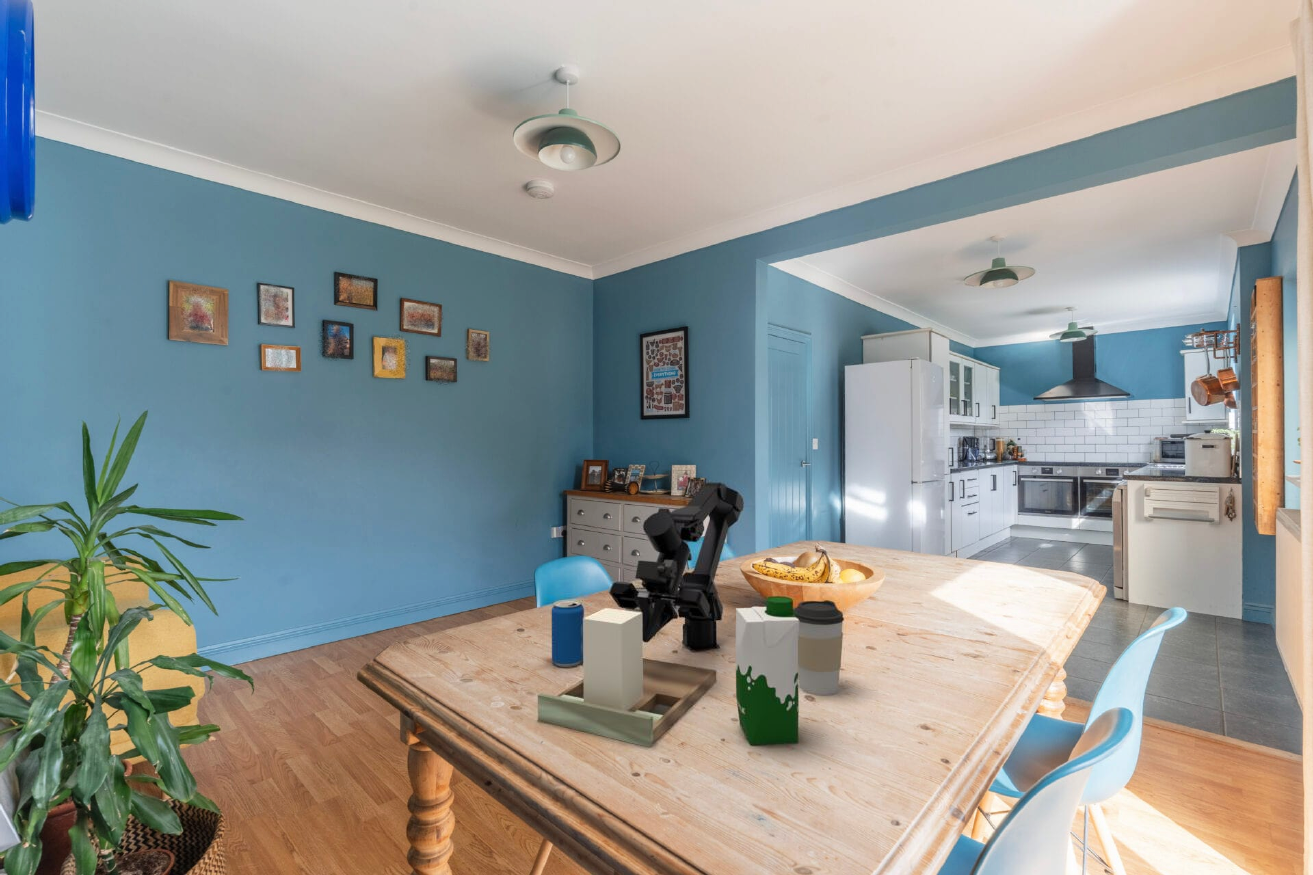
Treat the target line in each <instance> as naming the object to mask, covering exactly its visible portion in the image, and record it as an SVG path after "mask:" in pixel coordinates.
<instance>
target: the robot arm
mask: <svg viewBox="0 0 1313 875" xmlns="http://www.w3.org/2000/svg"><path fill="white" fill-rule="evenodd" d="M743 510H744V498H743V496H742V495H741V494H740V493H739V492H738V491H737V490H735V489H732V488H731V487H728V486H727V485H726V484H725V483H722V482H717V481H715V482H714V481H713V482H712V481H705V482H703V483H702V485H701V487H700V490H698V491H697V493H696V494H695V495H694V496H693V497H692V498H691V499H690V501H689V502H688V503H687V504H686V505H685V506H683V507H680V508H676V509H674V510H672V511H670V509H669V508H663V507H662V508H660V507H659V508H658V511H657V512H656V513H652V514H651V515H650V516H647V519H645V520H644V522H643V525H642V529H643V532H644V533H645V535H646V537H647V538H648V540H649V542H650V544H651V545H652V548H653V549H654V550H655V551H656V552H657V553H658V555H657V559H656V561H649V560H638V561H637V565H636V572H635V579H636V580H642V583H641V584H642V586H643V587H645V588H646V590H643V589H639V590H638V591H637V590H636V588H635V587H634V585H633V583H629V582H625V581H618V580H617V581H615V582H613V583H612V585H611V587H610V589H609V592H608V593H609V595H610V597H612V599H613V600H614V602H615V604H616V605H617V606H618V607H619V608H621V609H624V610H626V609H633V610H634V609H635V608H637V607H639V608H640V610H641V613H642V634H643V643H647V644H648V643H649V642H650V641H651V640H652V639H653V638H654V637H655V636H656V635H657V634H658V632H660V631H661V630H662V629H663V628H664V627H665V626H667V624H669V623H670V622H671V621H673V620H677V619H678V618H681V619H682V618H683V619H684V623H683V624H682V640H681V643H682V644H683V645H684V646H686V647H687V649H689V650H690V651H691V652H700V651H701V652H702V651H707V650H716V649H721V645H720V644H718V643H717V639H718V638H717V636H718V635H717V632H718V631H717V621H718V622H719V621H722V620H723V614H724V606H723V603H722V602H721V600H720V598H719V596H718V594H719V592H718V589H717V585H716V583H715V578H716V575H717V574H716V573H717V570H718V567H719V563H720V559H721V555H722V552H723V549H724V545H725V542H726V539H727V535H728V531H729V529H730V528H731V527H732V526H733V525H734V524H736V522H738V520H739V518H740V515H741V513H742V512H743ZM707 517H709V519H708V520H709V521H708V524H707V527H706V530H705V525H704V522H705V520H706V518H707ZM704 531H705V533H704ZM703 533H704V536H703ZM702 536H703V539H702V542H701V547H700V549H699V553H698V556H697V559H696V562H695V565H694V568H693V570H692V572H685V569H686V566H687V563H688V561H690V562H692V559H693V557H692V553H691V549H690V547H689V545H688V542H690V543H691V542H692V543H697V542H698V541H699V540H700V539H701V537H702Z"/></svg>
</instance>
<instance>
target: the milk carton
mask: <svg viewBox="0 0 1313 875" xmlns="http://www.w3.org/2000/svg"><path fill="white" fill-rule="evenodd" d="M765 601H766V602H765V606H752V607H738V608H737V607H736V608H735V693H736V694H735V697H736V698H735V699H736V704H737V705H736V706H737V713H738V721H739V724H740V726H741V729H742V732H743V733H744V735H745V738H746V739H747V741H748V743H749V745H750V746H757V745H758V746H759V745H760V746H761V745H776V744H777V745H780V744H795V743H796V744H797V743H798V742H799V711H800V710H799V709H800V708H799V706H800V705H799V704H800V702H799V698H800V697H799V696H800V695H799V679H798V633H799V619H797V617H796V616H795V613H794V612H793V610H794V599H793V598H791V597H788V596H783V595H781V596H780V595H775V596H774V595H773V596H772V595H771V596H769V597H767V598H765Z"/></svg>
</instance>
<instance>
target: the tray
mask: <svg viewBox="0 0 1313 875" xmlns="http://www.w3.org/2000/svg"><path fill="white" fill-rule="evenodd" d="M716 682H717V670H716V669H711V668H706V667H700V666H693V665H687V664H683V663H681V664H680V663H675V662H670V661H669V662H668V661H663V660H657V659H649V658H645V657H643V699H641V700H640V701H639V702H638V703H637V704H635V705H634V706H633V707H632V708H630V709H629V710H628V711H625V710H620V709H615V708H610V707H606V706H601V705H596V704H592V703H587V702H584V678H583V679H581V680H580V681H578V682H576V683H575V684H573V685H572V686H570V687H568V688H567V689H565V690H564V691H562V692H561V693H559V694H558V695H554V694H548V693H544V692H540V693H539V694H537V721H539V722H541V723H546V724H550V723H551V724H552V725H554V726H558V727H564V728H569V729H573V730H577V731H580V732H584V733H589V734H593V735H597V736H601V737H606V738H610V739H614V740H618V741H622V742H626V743H629V744H630V743H631V744H635V745H638V746H643V747H647V748H651V747H652V746H653V745H654V744H655V743H656V742H657V741H658V740H659V739H660V738H661V737H662V736H663V735H664V734H665V733H666V732H667V731H668V730H669V729H670V728H671V727H672V726H673V725H674V724H675V723H676V722H677V721H678V720H679V719H680V718H681V717H682V716H683V715H685V713H686V712H687V711H688V710H689V709H690V708H691V707H692V706H693V705H694V704H695V703H696V702H697V701H698V700H699V699H700V698H701V697H702V696H703V695H704V694H706V692H707V691H708V690H709V689H710V688H711V687H713V685H714V684H716Z"/></svg>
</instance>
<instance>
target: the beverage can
mask: <svg viewBox="0 0 1313 875" xmlns="http://www.w3.org/2000/svg"><path fill="white" fill-rule="evenodd" d="M583 618H585V608H584V606H583V603H582V601H581V600H578V599H573V598H571V599H562V600H561V599H560V600H556V601H555V602H553V606H552V608H551V661H552V663H554V664H555V665H556V666H558V667H561V668H571V667H575V666H578V665H580V664H581V662H583Z"/></svg>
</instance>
